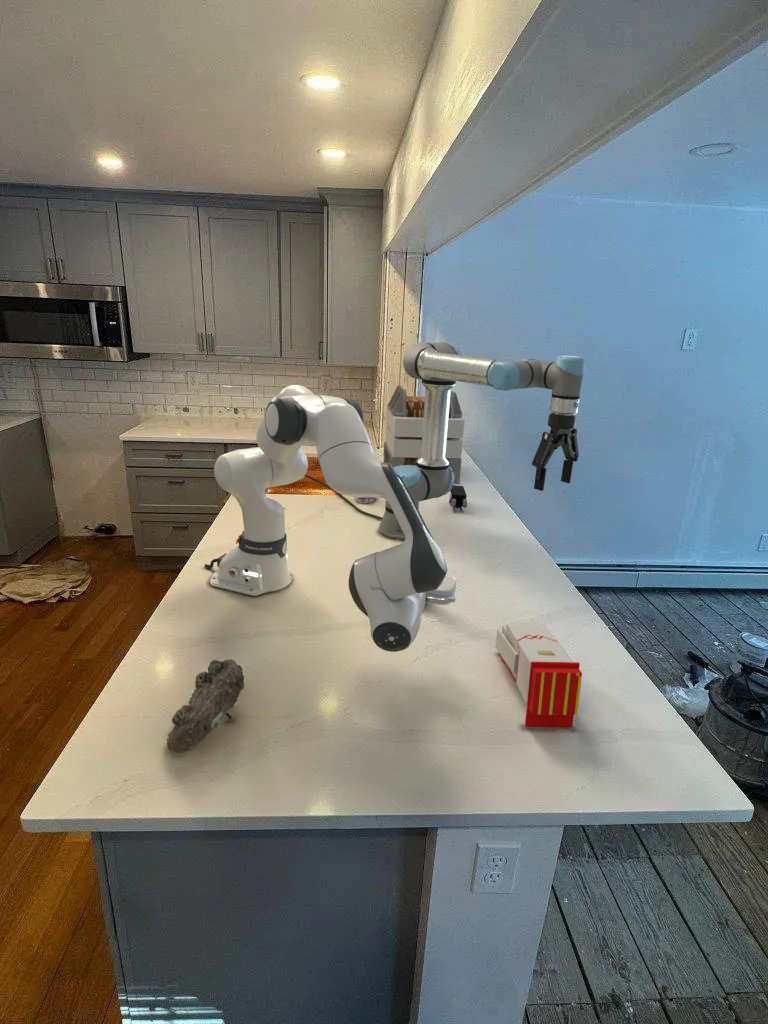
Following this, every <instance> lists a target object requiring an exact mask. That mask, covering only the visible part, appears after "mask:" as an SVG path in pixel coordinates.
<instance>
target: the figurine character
mask: <svg viewBox="0 0 768 1024" xmlns="http://www.w3.org/2000/svg"><path fill="white" fill-rule="evenodd" d="M467 495H468V494H467V493H466V490H465V487H464V485H456V484H455V485H454V484H453V487H452V489H451V490H450V491H449V496H448V499H449V500H448V504H449V506H450V507H451V508H452V510H453V512H456V510H458V509H459V510H460V512H463V509H464V508H465V509H466V508H467V506H468V499H467V497H468V496H467Z"/></svg>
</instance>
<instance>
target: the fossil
mask: <svg viewBox="0 0 768 1024" xmlns="http://www.w3.org/2000/svg"><path fill="white" fill-rule="evenodd" d="M243 670H244V669H243V667H242V665H240V664H237V662H236V661H235V660H234V659H232V658H231V659H227V658H226V659H224V660H223V661H222V660H217V659H212V660H211V661H210V663H209V665H208V666H207V671H201V672H199V673H198V674H197V675H196V676H195V680H194V684H195V685H194V687H195V689H194V690H193V693H192V694H191V697H190V698H189V700H188V704H184V705H182V706H181V707H180V709H177V710H176V711H175V713H174V715H173V716H172V718H171V723H172V724H173V727H172V730H171V731H170V732H168V734H167V738H166V741H167V742H166V745H167V749H168V750H169V751H173V752H174V753H176V754H178V753H182V752H188V751H189V752H192V751H193V750H195V748H196V747H197V746H199V744H200V743H201V742H203V741H204V740H205V739H206V738H207V737H208V736H209V735H210V734H211V733H212V732H214V730H215V729H217V727H218V726H219V724H220V722H221V721H222V720H223V719H224V718H225V716H226V717H227V719H229V720H233V717H232V715H230V714H229V710H230V709H231V708H234V706H235V704H236V703H237V702H238V699H239V697H240V695H241V693H242V691H243V690H245V689H244V688H245V675H244V671H243Z"/></svg>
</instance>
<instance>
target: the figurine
mask: <svg viewBox="0 0 768 1024" xmlns="http://www.w3.org/2000/svg"><path fill="white" fill-rule="evenodd" d="M356 500H357V502H358V503H360V504H368V503H374V502H375V501H376V500H377V498H374V497H356Z"/></svg>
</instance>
